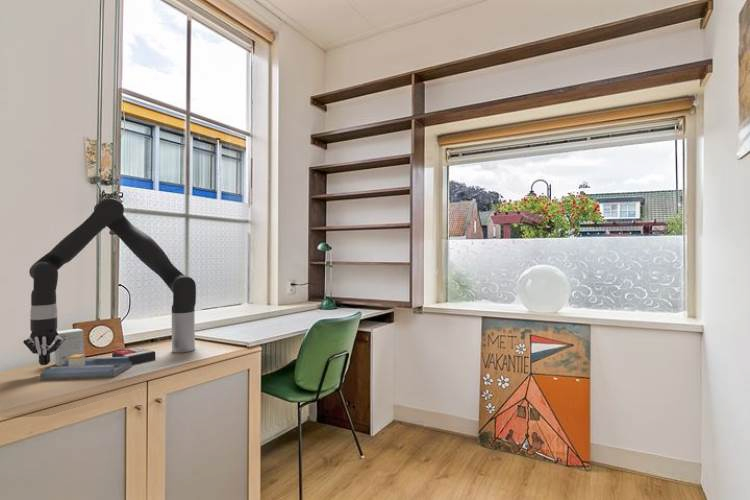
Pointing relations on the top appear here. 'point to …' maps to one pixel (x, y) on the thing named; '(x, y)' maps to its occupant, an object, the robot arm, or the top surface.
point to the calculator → (136, 355)
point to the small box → (69, 345)
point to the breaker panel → (89, 375)
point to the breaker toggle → (77, 360)
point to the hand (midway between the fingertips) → (44, 364)
